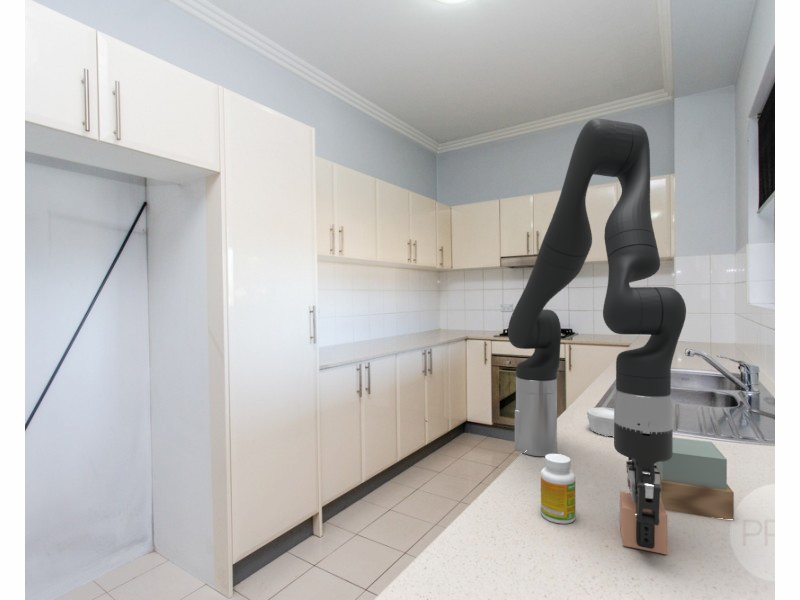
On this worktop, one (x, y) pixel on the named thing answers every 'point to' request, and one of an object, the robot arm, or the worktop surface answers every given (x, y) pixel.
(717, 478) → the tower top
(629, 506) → the terracotta cube
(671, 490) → the tower base
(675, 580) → the worktop surface
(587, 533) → the worktop surface
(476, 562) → the worktop surface
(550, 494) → the supplement bottle
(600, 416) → the ramekin
